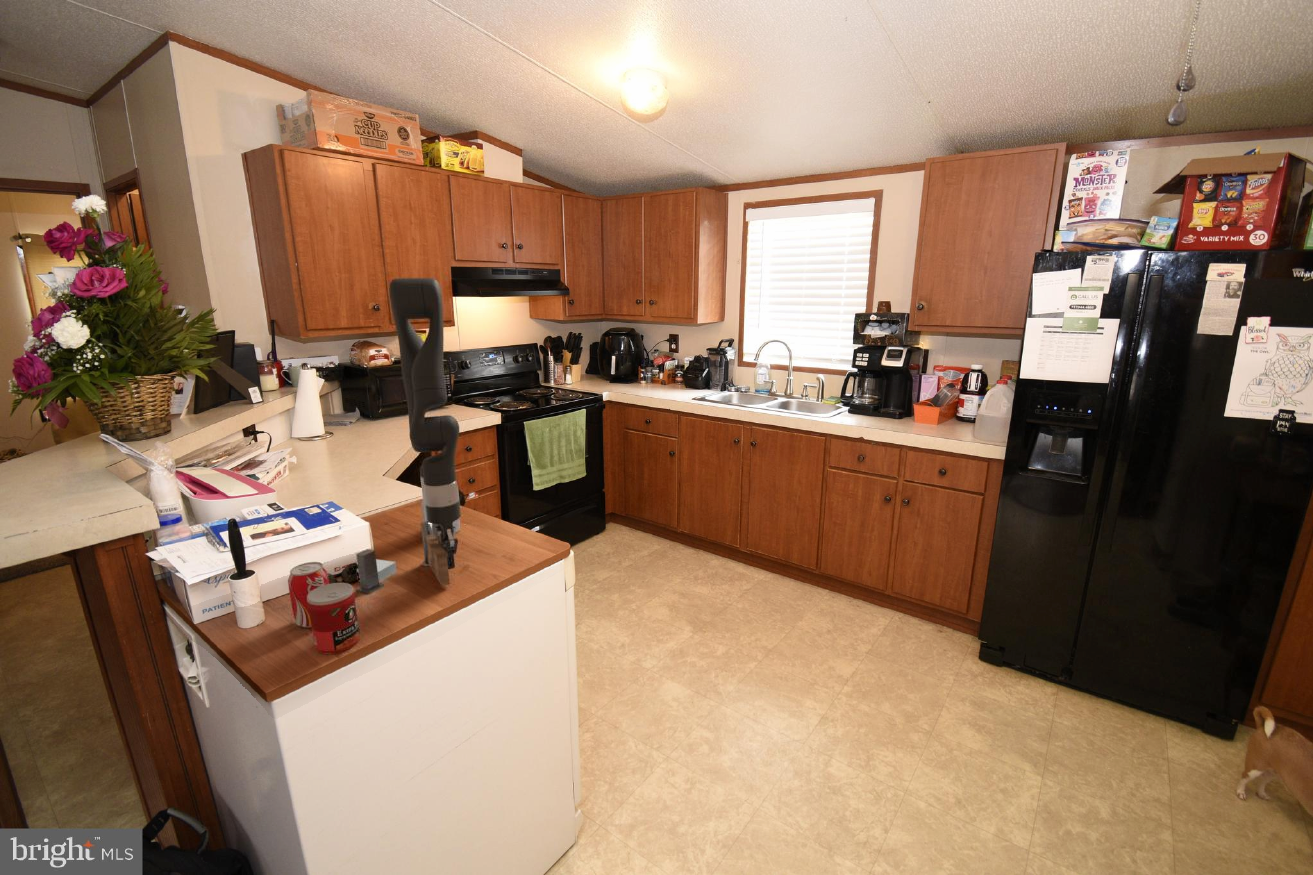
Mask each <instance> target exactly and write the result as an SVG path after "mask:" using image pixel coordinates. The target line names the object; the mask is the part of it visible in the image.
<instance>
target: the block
mask: <svg viewBox="0 0 1313 875" xmlns="http://www.w3.org/2000/svg"><path fill="white" fill-rule="evenodd" d="M376 563H377V570H378V578H379V583H381V582H383V581H384V580H386V579H388V578H390V577H391V576H393V575H394V574H396V573H397V564H396V561H391V560H384V559H377V558H376ZM357 572H358V573H359V571H358V568H356V573H357Z"/></svg>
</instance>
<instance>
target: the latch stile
mask: <svg viewBox="0 0 1313 875" xmlns="http://www.w3.org/2000/svg"><path fill="white" fill-rule="evenodd" d="M355 556H356V561H357V569H358V571H359V578H360V580H359V584H360V586H359V587H357V588H355V591H357V592H360V593H363V594H366V595H369V594H371V593H374V592H376V591H377V590H379V589H381V588H384V587H385V583H381V582H380V583H379V578H378V570H377V563H376V559H377V558H376V551H375V550H373V549H369V548H367V549H365V550H362V551H360V552H357V553H356V554H355Z"/></svg>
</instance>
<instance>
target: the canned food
mask: <svg viewBox="0 0 1313 875" xmlns="http://www.w3.org/2000/svg"><path fill="white" fill-rule="evenodd" d="M307 603H308V610H309V616H310V622H311V627H310V628H311V634H312V638H313V645H314V648H315V649H316V651H317V650H318V651H319V653H320V652H321V653H320V654H323V653H331V654H330V655H333V654H332V653H335V654H339V652H340V653H342V651H343V652H346V651H348V650H350V649H351V648H353V647H354V646H356V645H357V643H358V642H359V641H360V635H361V632H360V625H359V618H358V612H357V611H358V610H357V604H356V598H355V591H354V587H353V585H351V584H350V583H346V582H333V583H329V584H327V585H323V586H321V587H318V588H316V589H314V590H312V591H311V592H310V593H309V594H308V595H307ZM349 648H350V649H349ZM347 649H348V650H347ZM318 651H317V652H318Z"/></svg>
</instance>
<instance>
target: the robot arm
mask: <svg viewBox="0 0 1313 875" xmlns="http://www.w3.org/2000/svg"><path fill="white" fill-rule="evenodd" d="M388 291H389V301H390V307H391V310H392V315H393V320H394V325H395V330H396V334H397V341H398V346H399V348H398V349H399V356H400V364H401V365H400V368H401V375H402V381H403V386H404V392H405V397H406V403H407V409H408V410H407V411H408V412H407V413H408V426H409V439H410V443H411V447H412V449H413V450H414V451H415V452H417V453H431V452H439V453H438V454H435V455H432V456H428V457H426V458H424V459H423V460H422V463H421V466H420V467H419V476H420V483H421V484H420V485H421V494H422V500H421V501H420V506H421V513H422V515H421V516H422V522H424V521H428V522H429V523H432V527H433V534H434V535H435V537H436V538H437V539H438V543H439V544H440V546H441V547H443V548H444V550H445V551H446V552H447V554H448V557H447V562H448V571H449V570H452V569H455V567H456V564H455V556H454V555H455V554H457V550H458V544H459V540H458V538H457V537H456V534H457V533H458V532H459V531H460V530H461V521H460V518H461V514H462V513H461V503H460V495H459V494H460V493H459V487H458V483H457V475H456V474H457V473H456V465H455V464H456V462H455V461H456V460H455V459H456V458H455V457H456V449H457V444H458V441H459V435H460V425H459V422H458V420H457V419H456V418H455V417H454V416H452V415H448V414H446V415H435V416H426V413H427V412H428V411H429V410H431V409H435V408H438V407H442V406H444V405H445V404H446V403H447V402H448V394H447V386H446V385H447V384H446V379H445V378H446V377H445V376H446V375H445V368H444V306H443V305H444V304H443V296H442V290H441V286H440V284H439V281H438V280H436V279H435V278H430V277H426V278H425V277H421V278H420V277H414V278H413V277H405V278H404V277H399V278H394V279H392V280H391V281H390V283H389V289H388ZM425 319H426V320H429V325H428V326H429V327H428V332H427V336H426V337H425V340H423V338H421V337H420V336H419V334H418V333H417V332H416V331H415V329H414V327H413V325H412V323H411V320H425Z"/></svg>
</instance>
